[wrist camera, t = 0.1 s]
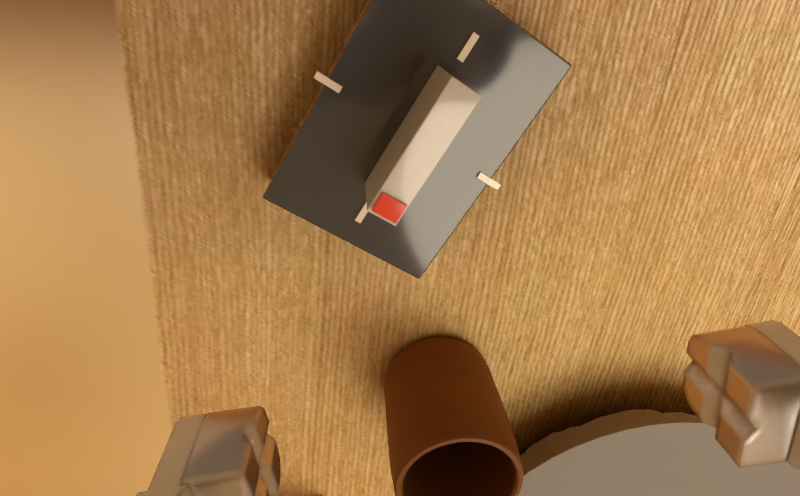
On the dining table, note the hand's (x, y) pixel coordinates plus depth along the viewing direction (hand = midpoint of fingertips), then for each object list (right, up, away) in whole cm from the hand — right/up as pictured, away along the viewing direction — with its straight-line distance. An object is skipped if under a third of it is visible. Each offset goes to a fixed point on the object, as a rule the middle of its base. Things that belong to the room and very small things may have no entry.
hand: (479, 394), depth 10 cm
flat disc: (+17, -20, +36) cm, 44 cm away
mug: (+1, -8, +29) cm, 30 cm away
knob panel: (-1, +10, +20) cm, 22 cm away
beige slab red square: (-1, +9, +17) cm, 19 cm away
